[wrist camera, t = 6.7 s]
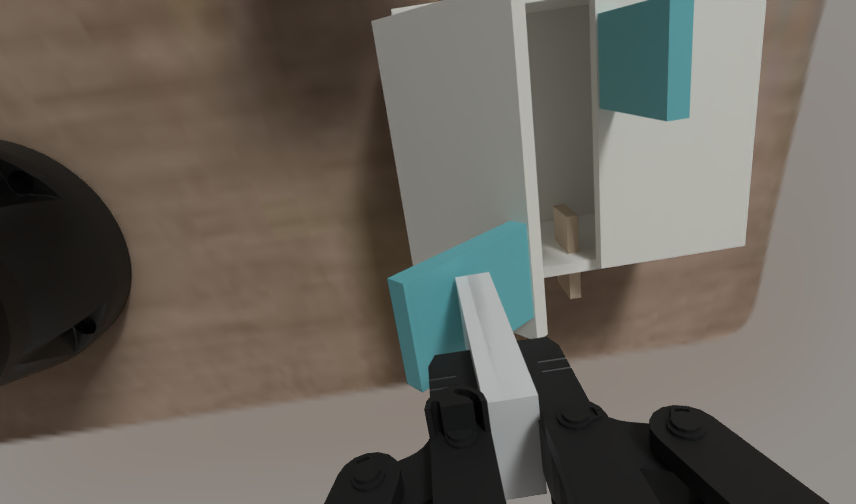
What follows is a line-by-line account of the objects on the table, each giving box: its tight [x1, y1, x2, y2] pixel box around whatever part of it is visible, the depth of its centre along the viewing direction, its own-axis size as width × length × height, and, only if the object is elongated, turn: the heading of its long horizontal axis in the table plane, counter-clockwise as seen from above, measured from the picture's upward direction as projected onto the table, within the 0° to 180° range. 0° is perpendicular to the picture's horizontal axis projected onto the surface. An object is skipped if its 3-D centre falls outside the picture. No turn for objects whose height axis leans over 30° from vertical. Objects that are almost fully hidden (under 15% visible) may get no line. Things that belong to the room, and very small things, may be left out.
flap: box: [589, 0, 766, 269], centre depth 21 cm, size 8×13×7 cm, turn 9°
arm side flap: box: [371, 0, 548, 392], centre depth 19 cm, size 8×13×7 cm
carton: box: [391, 0, 601, 299], centre depth 28 cm, size 16×16×8 cm
